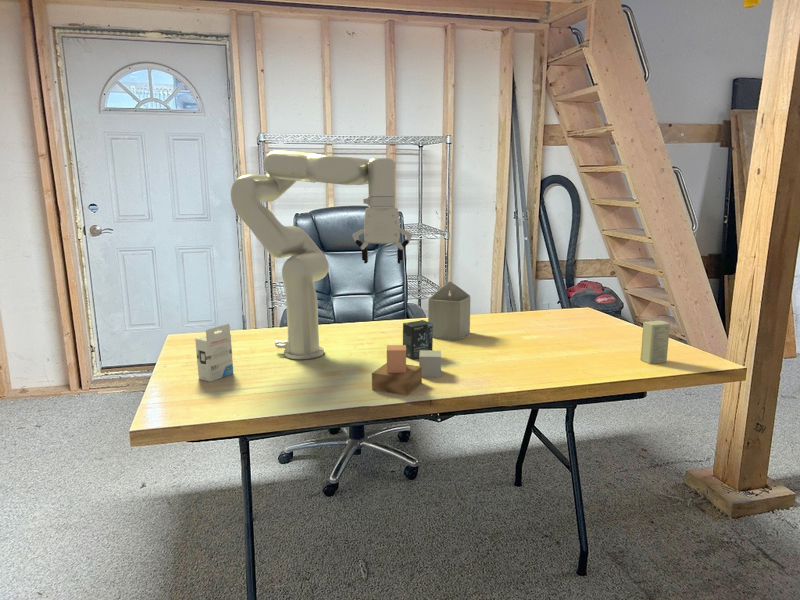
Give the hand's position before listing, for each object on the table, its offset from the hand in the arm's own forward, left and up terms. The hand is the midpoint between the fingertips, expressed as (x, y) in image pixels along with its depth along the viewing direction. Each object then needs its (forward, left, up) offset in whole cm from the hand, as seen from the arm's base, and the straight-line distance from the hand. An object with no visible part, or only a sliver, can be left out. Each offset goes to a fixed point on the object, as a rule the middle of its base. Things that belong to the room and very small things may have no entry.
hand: (382, 262), depth 163 cm
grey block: (+14, -9, -30) cm, 35 cm away
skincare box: (+81, +5, -31) cm, 87 cm away
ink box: (-46, -14, -31) cm, 57 cm away
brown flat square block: (+5, -20, -31) cm, 37 cm away
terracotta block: (+5, -20, -26) cm, 33 cm away
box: (+10, +8, -31) cm, 33 cm away
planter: (+22, +30, -31) cm, 48 cm away
